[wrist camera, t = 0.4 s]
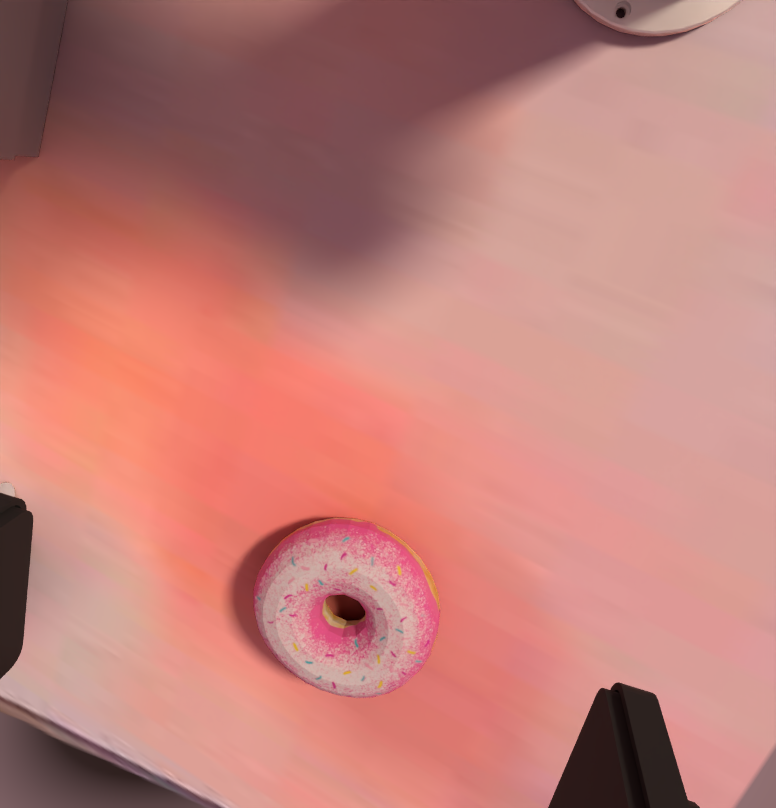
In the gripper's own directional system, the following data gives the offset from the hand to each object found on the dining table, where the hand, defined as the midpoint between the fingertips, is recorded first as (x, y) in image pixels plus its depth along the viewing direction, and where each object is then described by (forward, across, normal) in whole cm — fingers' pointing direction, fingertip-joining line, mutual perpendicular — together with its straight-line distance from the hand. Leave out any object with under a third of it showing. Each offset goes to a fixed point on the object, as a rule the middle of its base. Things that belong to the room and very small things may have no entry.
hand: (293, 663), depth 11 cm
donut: (+36, +1, +22) cm, 43 cm away
